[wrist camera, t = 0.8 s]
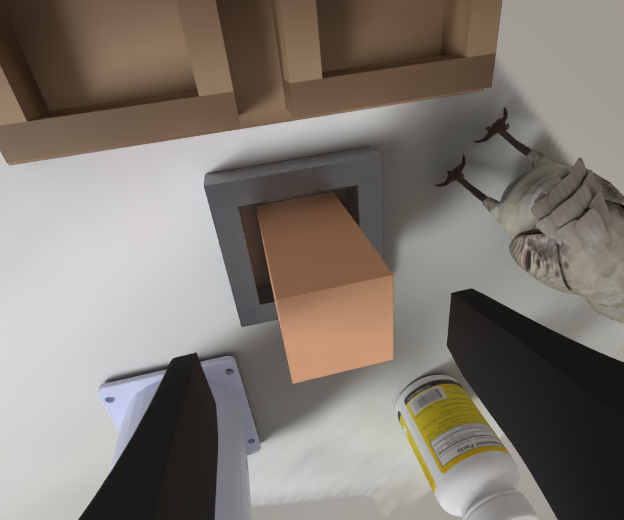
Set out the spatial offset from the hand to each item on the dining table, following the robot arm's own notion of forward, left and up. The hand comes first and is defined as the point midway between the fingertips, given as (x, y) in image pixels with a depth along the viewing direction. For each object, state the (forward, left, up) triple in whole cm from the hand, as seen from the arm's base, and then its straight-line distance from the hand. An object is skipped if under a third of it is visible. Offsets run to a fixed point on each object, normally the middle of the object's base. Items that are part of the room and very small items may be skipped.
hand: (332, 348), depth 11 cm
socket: (-2, -1, -10) cm, 10 cm away
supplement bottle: (-18, -9, -11) cm, 22 cm away
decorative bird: (-4, -15, -11) cm, 19 cm away
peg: (-2, -1, -10) cm, 11 cm away
